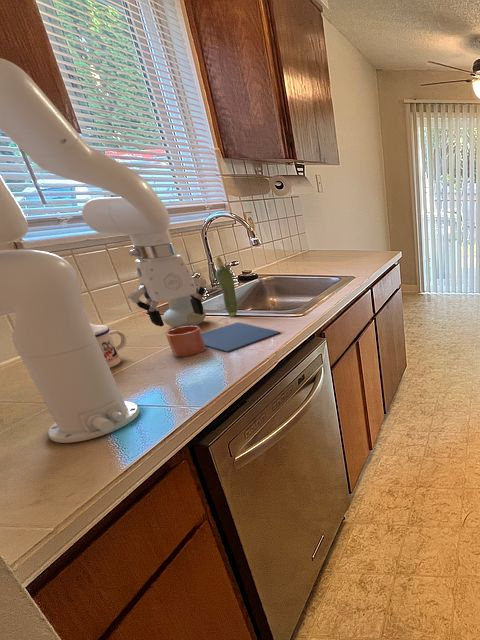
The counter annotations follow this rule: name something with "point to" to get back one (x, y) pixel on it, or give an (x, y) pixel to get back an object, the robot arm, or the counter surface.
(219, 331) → the mat
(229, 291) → the vegetable
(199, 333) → the terracotta flower pot
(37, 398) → the counter surface
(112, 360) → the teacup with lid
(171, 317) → the air freshener
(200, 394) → the counter surface
